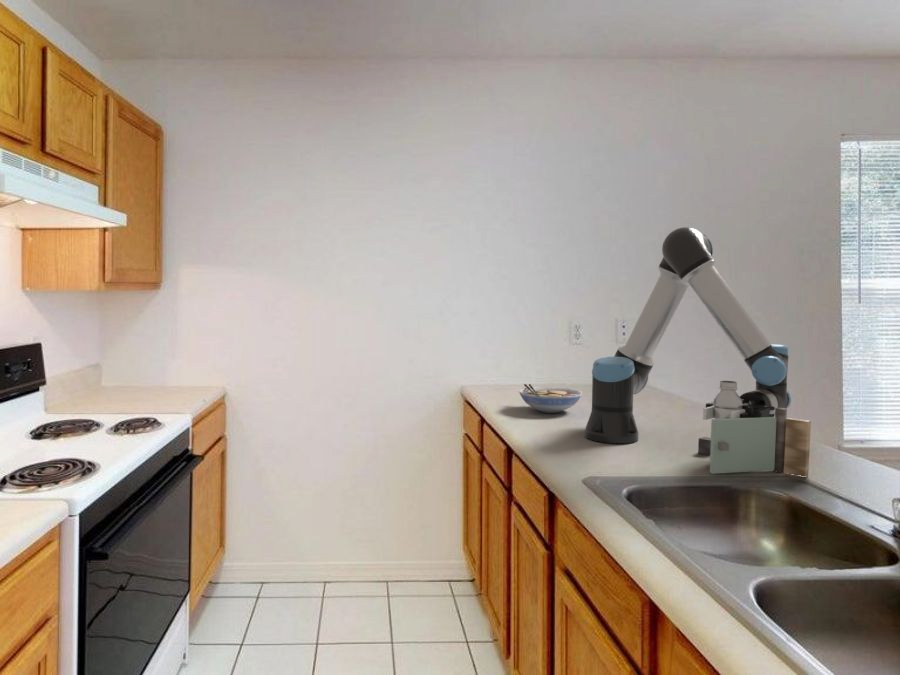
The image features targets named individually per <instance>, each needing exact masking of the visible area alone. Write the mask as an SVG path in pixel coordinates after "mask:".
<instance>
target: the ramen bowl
mask: <svg viewBox="0 0 900 675" xmlns="http://www.w3.org/2000/svg"><path fill="white" fill-rule="evenodd" d="M523 385H524V388H520V389H519V391H518V393H519V395H520V396H521V398H522V400H523V401H524V403H525V404H527V405H528V406H529V407H531V408H533V409H535V410H538V412H541V413H543V414H558V413H561V412H563V411H565V410H568V409H571V408H573V406H575V405H576V404H577V403H578V401H579V399H580V398H581V396H582V395H583V392H582V391H581V390H578V389H574V388H568V387H567V388H566V387H557V386H532V384H531V383H529V384H526V383H524V384H523Z"/></svg>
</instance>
